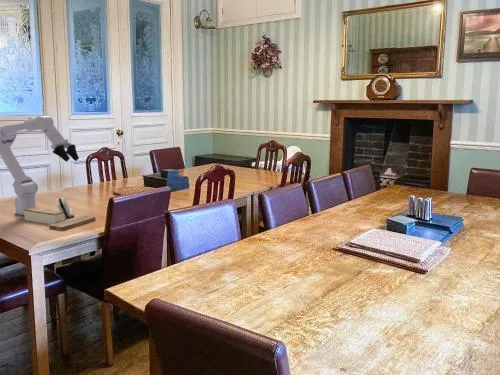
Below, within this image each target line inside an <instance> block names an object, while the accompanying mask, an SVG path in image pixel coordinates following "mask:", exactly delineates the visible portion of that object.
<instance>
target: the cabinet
mask: <svg viewBox="0 0 500 375" xmlns="http://www.w3.org/2000/svg"><path fill="white" fill-rule="evenodd" d="M23 216H24V221H30V222H37V223H42V224H48V225H51V224H54V223H58V222H61V221H64V220H65V219H64V212H62V211H60V210H53V209H47V208H46V209H45V208H41V207H36V208H34V207H32V208H28V209H24V215H23Z"/></svg>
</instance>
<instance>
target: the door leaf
mask: <svg viewBox="0 0 500 375" xmlns="http://www.w3.org/2000/svg"><path fill="white" fill-rule="evenodd" d="M93 221H96V216H91V215H84V214H81V215H78V216H75V217H70V218H68V219H64V221H61V222H58V223H54V224H48V229H52V230H56V229H57V231H62V230H63V231H65V230H68V229H71V228H75V227H78V226H81V225H84V224H87V223H91V222H93Z"/></svg>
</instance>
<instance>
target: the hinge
mask: <svg viewBox="0 0 500 375" xmlns="http://www.w3.org/2000/svg"><path fill="white" fill-rule="evenodd" d="M55 202H56V204H57V208H58V211H62V212H64V220H67V218H74V217H76V216H75V211H74V209H73V207H71V206H70V205H69V204H68V202H67V200H66V198H65V197H64V196H61V197H60V198H57V199H55Z"/></svg>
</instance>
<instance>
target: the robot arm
mask: <svg viewBox="0 0 500 375" xmlns="http://www.w3.org/2000/svg"><path fill="white" fill-rule="evenodd" d="M24 130H25V131H27V132H33V131H34V132H35V131H39V130H40V131H41V132H42V133H44V135H45V136H46V137H47V139H48V140H49V142H50V143H51V145H50V148H51V149H52V153H53V154H54V155H57V156H58V157H60V158H61V159H62V160H63V161H65V162H68V161H69V160H70V157H71V158H72V160H74V161H75V162H77V161H78V160H79V159H80V157H79V154H78V153H77V149H76V144H74V143H73V144H72V143H70V142H69V139H68V138H67V139H66V138H64V136H63V135H62V134H61V133H60V131H59V130H58V129H57V128H56V126H55V124H54V120H53V118H52V117H51V116H47V115H46V116H45V115H43V116H40V115H37V116H36V117H34V118H33V117H32V116H31V117H27V118H26V119H24V122H20V123H14V124H8V125H4V126H0V158H1V159H2V161H3V162H4V164H5V166H6V168H7V169H8V171H9V173H10V174H11V176H12V178H13V180H14V181H13V183H12V187H13V190H14V193H15V195H16V196H15V199H14V208H15V212H14V214H16V215H21V216H25V215H24V209H28V208H32V207H34V208H37V204H36V195H37V193H38V191H39V186H38V184H37V182H36V181H34V180H33V178H32V177H30V176H28V175H26V173H25V171H24V170H23V168H22V166H21V165H20V163H19V161H18V160H17V157H16V156H15V155H14V153H13V151H12V149H11V147H12V146H13V145H14V142H15V140H16V139H17V135H18V134H19V133H18V132H19V131H24Z"/></svg>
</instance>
